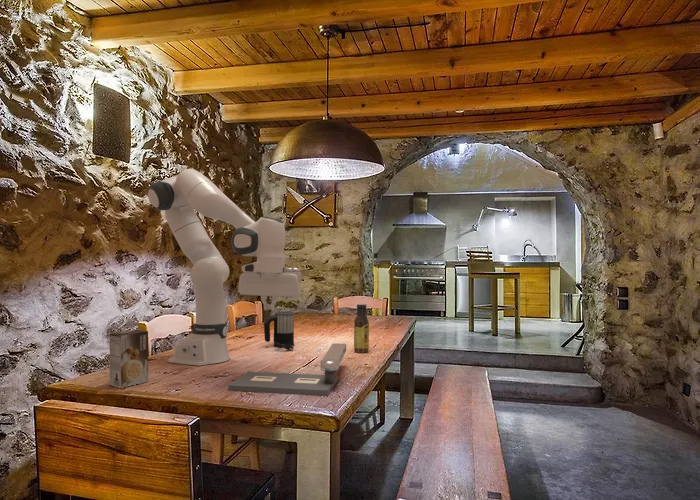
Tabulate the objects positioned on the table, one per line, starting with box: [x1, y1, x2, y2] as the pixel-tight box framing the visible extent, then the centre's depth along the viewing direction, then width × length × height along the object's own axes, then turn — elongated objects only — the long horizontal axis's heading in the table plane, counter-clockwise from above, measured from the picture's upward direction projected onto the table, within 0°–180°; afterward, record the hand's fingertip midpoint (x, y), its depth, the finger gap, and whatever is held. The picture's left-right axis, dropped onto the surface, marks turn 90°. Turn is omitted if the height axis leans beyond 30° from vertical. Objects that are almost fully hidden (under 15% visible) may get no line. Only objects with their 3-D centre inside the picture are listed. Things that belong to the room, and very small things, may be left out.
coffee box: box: [109, 329, 149, 388], centre depth 136 cm, size 9×6×16 cm
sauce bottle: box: [353, 303, 370, 354], centre depth 185 cm, size 7×6×20 cm
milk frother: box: [263, 311, 295, 351], centre depth 193 cm, size 14×16×15 cm
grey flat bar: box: [320, 342, 347, 372], centre depth 146 cm, size 30×6×2 cm, turn 175°
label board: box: [227, 371, 339, 397], centre depth 136 cm, size 30×16×5 cm, turn 81°
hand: (269, 310), depth 142 cm, fingers closed
